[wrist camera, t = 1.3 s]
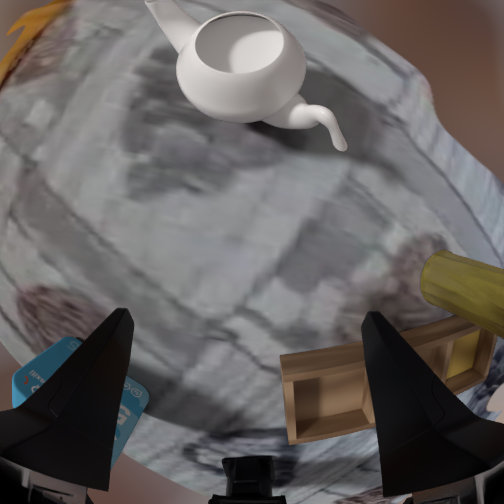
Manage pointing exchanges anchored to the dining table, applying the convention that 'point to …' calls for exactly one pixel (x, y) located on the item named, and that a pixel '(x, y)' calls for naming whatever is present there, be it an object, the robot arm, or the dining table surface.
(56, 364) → the data package
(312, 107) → the teapot
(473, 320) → the vase
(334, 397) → the rack
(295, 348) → the dining table surface
